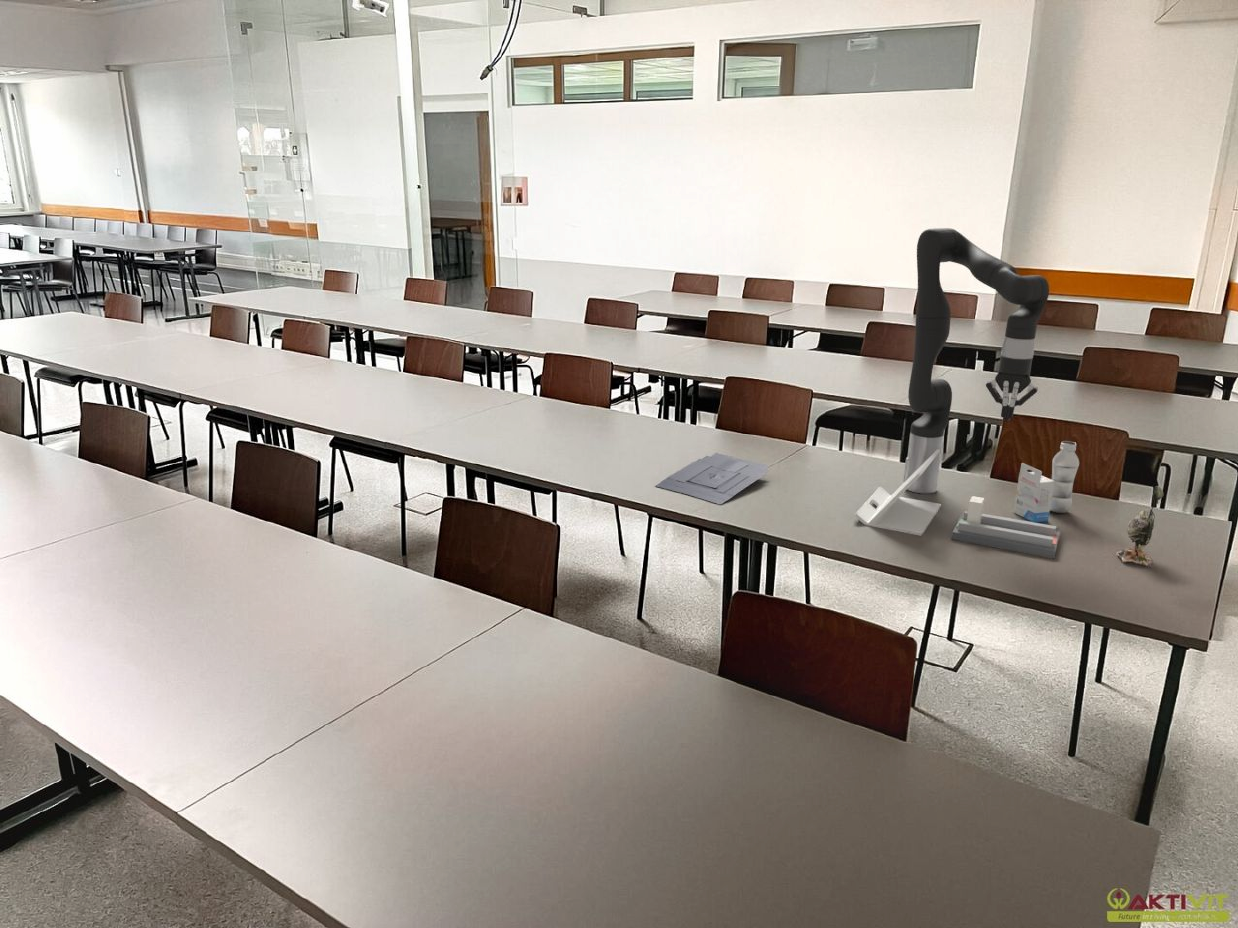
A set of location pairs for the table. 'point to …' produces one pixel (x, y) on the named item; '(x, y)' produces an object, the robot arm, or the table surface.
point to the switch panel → (1005, 542)
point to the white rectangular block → (975, 510)
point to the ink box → (1033, 495)
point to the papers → (715, 477)
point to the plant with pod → (1141, 533)
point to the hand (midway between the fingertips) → (1006, 419)
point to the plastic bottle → (1064, 477)
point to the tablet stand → (900, 507)
